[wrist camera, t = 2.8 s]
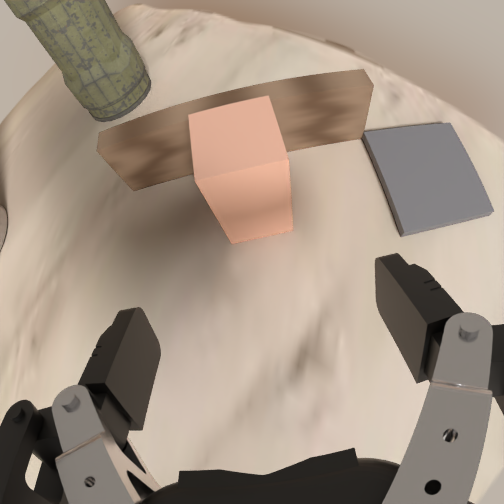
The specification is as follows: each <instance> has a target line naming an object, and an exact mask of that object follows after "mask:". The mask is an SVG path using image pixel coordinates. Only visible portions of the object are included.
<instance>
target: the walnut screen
mask: <svg viewBox="0 0 504 504" xmlns="http://www.w3.org/2000/svg"><path fill="white" fill-rule="evenodd" d="M373 86H374V85H373V83H372V82H371V80H370V78H369V77H368V75H367V74H366V72H365V70H364V69H361V70H350V71H340V72H332V73H324V74H316V75H309V76H302V77H296V78H290V79H284V80H278V81H273V82H268V83H263V84H258V85H253V86H248V87H244V88H239V89H235V90H231V91H227V92H223V93H219V94H215V95H211V96H207V97H203V98H200V99H196V100H193V101H189V102H186V103H182V104H179V105H176V106H172V107H169V108H166V109H163V110H160V111H157V112H154V113H151V114H148V115H145V116H142V117H139V118H136V119H134V120H131V121H128V122H125V123H123V124H120V125H117V126H115V127H112V128H110V129H107V130H105V131H102V132H100V133H99V137H98V145H97V152H98V153H99V154H100V155H101V156H102V157H103V158H104V160H105V161H106V162H107V163H108V164H109V165H110V166H111V167H112V168H113V169H114V170H115V172H116V173H117V174H118V175H119V176H120V177H121V178H122V179H123V180H124V181H125V182H126V183H127V185H128V186H129V187H130V188H131V189H132V190H133V191H136V190H139V189H142V188H146V187H149V186H152V185H156V184H159V183H163V182H166V181H170V180H173V179H177V178H180V177H184V176H187V175H191V174H194V169H193V159H192V149H191V139H190V129H189V118H188V115H190V114H193V113H197V112H200V111H204V110H208V109H211V108H215V107H219V106H223V105H227V104H231V103H236V102H240V101H244V100H249V99H254V98H258V97H263V96H268V95H269V98H270V101H271V104H272V107H273V110H274V113H275V117H276V120H277V123H278V126H279V129H280V132H281V135H282V139H283V142H284V145H285V148H286V152H289V151H294V150H299V149H304V148H310V147H315V146H320V145H326V144H332V143H338V142H344V141H350V140H356V139H362V137H363V133H364V129H365V124H366V120H367V115H368V111H369V106H370V101H371V96H372V91H373Z"/></svg>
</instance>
